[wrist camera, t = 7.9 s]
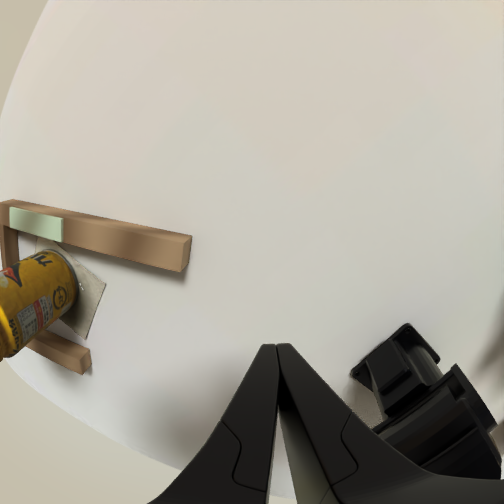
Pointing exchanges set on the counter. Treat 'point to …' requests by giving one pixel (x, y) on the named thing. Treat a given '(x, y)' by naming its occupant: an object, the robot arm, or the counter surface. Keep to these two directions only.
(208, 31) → the counter surface
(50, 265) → the condiment
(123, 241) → the rail bay
